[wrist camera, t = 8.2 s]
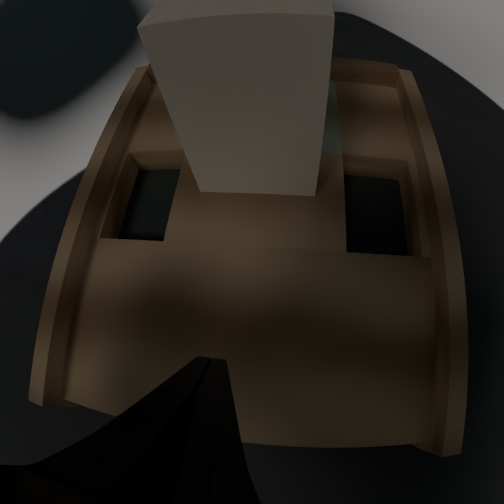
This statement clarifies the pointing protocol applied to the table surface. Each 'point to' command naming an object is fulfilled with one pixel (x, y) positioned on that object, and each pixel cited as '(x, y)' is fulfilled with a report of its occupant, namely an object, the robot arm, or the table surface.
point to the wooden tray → (269, 282)
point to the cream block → (245, 88)
